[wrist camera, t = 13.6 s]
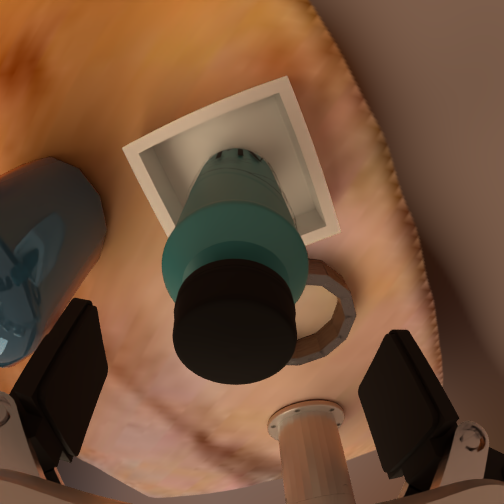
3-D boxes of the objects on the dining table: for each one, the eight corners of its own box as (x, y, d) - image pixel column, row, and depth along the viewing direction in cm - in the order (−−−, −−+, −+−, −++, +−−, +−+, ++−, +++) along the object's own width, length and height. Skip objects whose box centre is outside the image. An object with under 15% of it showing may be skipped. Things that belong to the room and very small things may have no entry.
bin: (325, 210, 30) (341, 232, 25) (201, 258, 31) (195, 286, 27) (278, 79, 24) (287, 75, 19) (140, 138, 26) (121, 147, 21)
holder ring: (355, 326, 37) (362, 342, 34) (260, 358, 38) (261, 376, 36) (332, 240, 31) (340, 255, 28) (217, 283, 33) (216, 300, 30)
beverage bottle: (220, 226, 29) (202, 427, 11) (184, 162, 26) (86, 313, 8) (286, 195, 28) (362, 376, 10) (253, 127, 25) (296, 215, 7)
